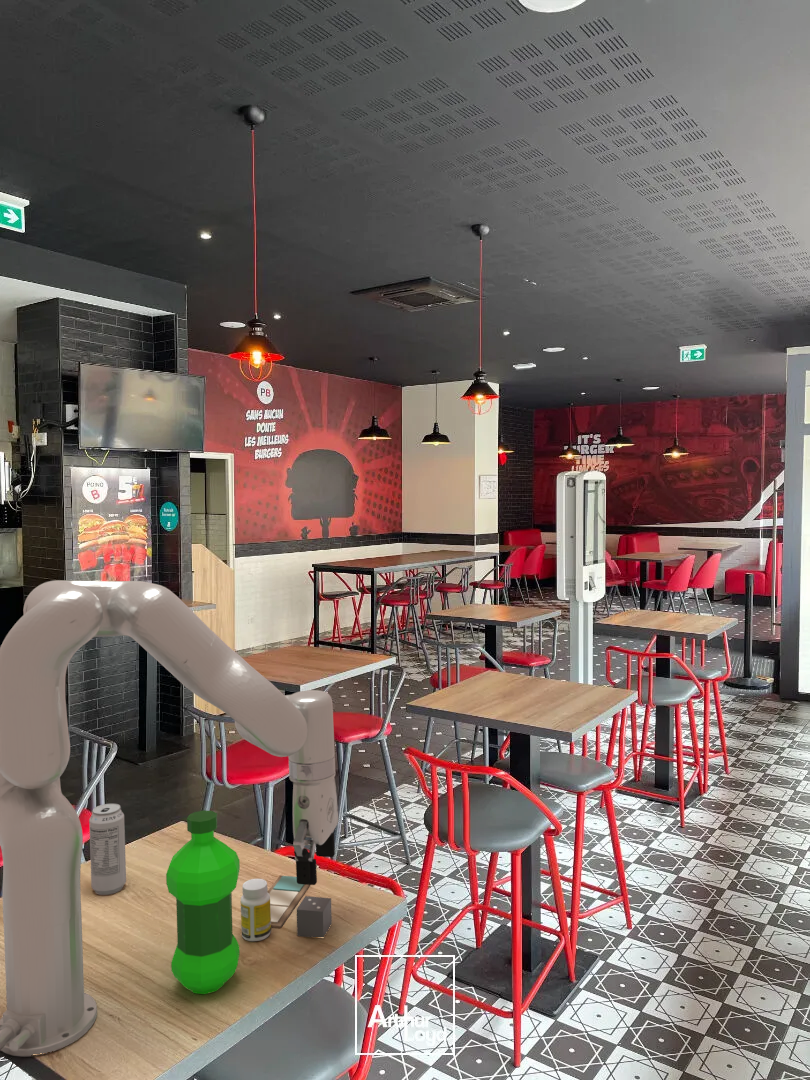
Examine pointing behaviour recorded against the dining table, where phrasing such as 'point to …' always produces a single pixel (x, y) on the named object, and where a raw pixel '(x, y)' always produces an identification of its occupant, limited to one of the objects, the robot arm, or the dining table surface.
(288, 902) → the board
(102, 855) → the energy drink can
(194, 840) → the plastic bottle
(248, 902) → the supplement bottle
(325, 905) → the die
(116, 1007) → the dining table surface
